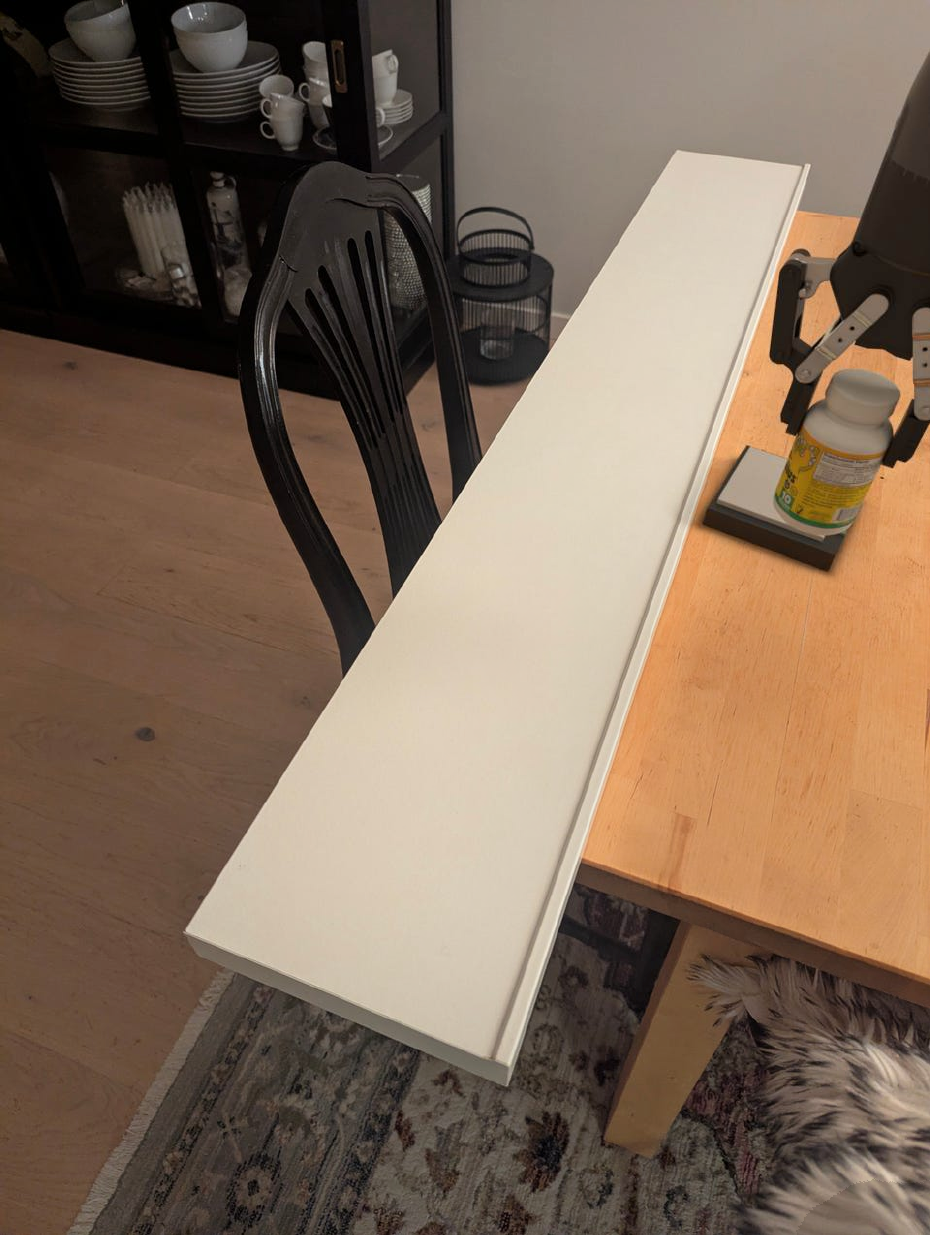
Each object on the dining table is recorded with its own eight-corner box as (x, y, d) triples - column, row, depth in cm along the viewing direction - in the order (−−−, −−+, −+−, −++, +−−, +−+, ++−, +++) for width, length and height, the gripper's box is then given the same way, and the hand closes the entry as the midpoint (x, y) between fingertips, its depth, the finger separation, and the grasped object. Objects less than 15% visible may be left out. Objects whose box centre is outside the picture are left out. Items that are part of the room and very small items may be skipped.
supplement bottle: (849, 547, 57) (913, 420, 50) (765, 524, 58) (816, 398, 51) (854, 498, 60) (913, 374, 53) (775, 478, 61) (823, 354, 55)
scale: (858, 501, 87) (868, 480, 85) (828, 571, 80) (838, 550, 78) (741, 460, 91) (748, 439, 89) (702, 524, 83) (708, 502, 82)
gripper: (804, 144, 43) (712, 437, 55) (1130, 219, 39) (951, 518, 51) (838, 105, 47) (746, 382, 60) (1131, 168, 43) (967, 452, 56)
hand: (841, 443), depth 55 cm, fingers closed on supplement bottle, 5 cm apart
